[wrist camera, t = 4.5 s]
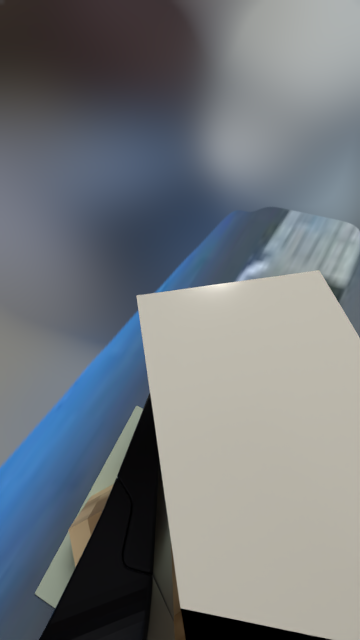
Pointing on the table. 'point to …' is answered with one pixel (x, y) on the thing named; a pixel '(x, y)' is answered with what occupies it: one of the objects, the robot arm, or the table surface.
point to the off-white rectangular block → (259, 455)
